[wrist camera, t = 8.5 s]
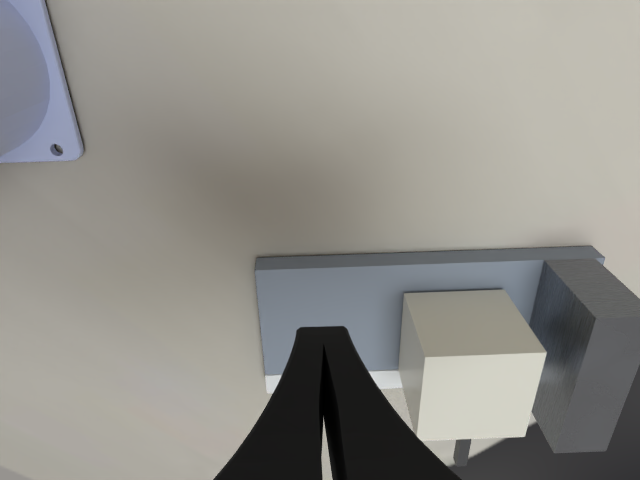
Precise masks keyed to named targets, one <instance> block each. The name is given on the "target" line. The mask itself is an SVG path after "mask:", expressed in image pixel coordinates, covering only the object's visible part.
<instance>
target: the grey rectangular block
mask: <svg viewBox="0 0 640 480" xmlns="http://www.w3.org/2000/svg"><path fill="white" fill-rule="evenodd" d="M529 327H530V328H531V330H532V331H533V333H534V334H535V336H536V337H537V338H538V340H539V341H540V343H541V344H542V346H543V347H544V349H545V350H546V352H547V354H546V358H545V362H544V366H543V369H542V373H541V377H540V381H539V385H538V388H537V392H536V396H535V400H534V404H533V407H532V411H531V412H532V413H533V415H534V417H535V419H536V421H537V423H538V424H539V426H540V428H541V430H542V432H543V433H544V435H545V437H546V439H547V441H548V443H549V445H550V447H551V448H552V450H553V452H554V453H570V452H591V451H606V449H607V447H608V444H609V441H610V439H611V436H612V434H613V431H614V428H615V426H616V423H617V421H618V418H619V416H620V413H621V411H622V408H623V405H624V403H625V400H626V398H627V395H628V392H629V390H630V387H631V384H632V382H633V379H634V377H635V374H636V372H637V369H638V367H639V364H640V299H639V298H638V297H637V296H636V295H635V294H634V293H633V292H631V291H630V290H629V289H628V288H627V287H626V286H625V285H624V284H623V283H622V282H621V281H619V280H618V279H617V278H616V277H615V276H614V275H613V274H612V273H611V272H610V271H609V270H607V269H606V268H605V267H604V266H603V265H602V264H601V263H600V262H599V261H598V260H597V259H595V258H586V259H558V260H544V263H543V267H542V271H541V275H540V280H539V284H538V288H537V293H536V297H535V301H534V306H533V310H532V314H531V319H530V323H529Z"/></svg>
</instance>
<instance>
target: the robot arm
mask: <svg viewBox="0 0 640 480" xmlns="http://www.w3.org/2000/svg"><path fill="white" fill-rule="evenodd" d="M54 144H57V145H59V146H60V147H61V148H62V149H63V153H59V152H57V151H56V150H55V148H54ZM83 152H84V150H83V144H82V140H81V136H80V132H79V129H78V125H77V121H76V117H75V113H74V110H73V106H72V102H71V98H70V95H69V91H68V87H67V83H66V79H65V76H64V72H63V68H62V64H61V60H60V57H59V53H58V49H57V45H56V41H55V38H54V34H53V30H52V26H51V22H50V19H49V15H48V11H47V7H46V3H45V0H0V163H15V162H46V161H73V160H76V159H78V158H79V157H80V156H81V155H82V154H83ZM323 415H324V422H325V429H326V436H327V443H328V450H329V457H330V464H331V471H332V478H333V480H462V479H460V478H459V477H458V476H457V475H456V474H455V473H454V472H452V471H451V470H450V469H449V468H448V467H447V466H446V465H445V464H444V463H443V462H442V461H441V460H440V459H439V458H438V457H437V456H436V455H435V454H434V453H433V452H432V451H431V450H430V449H429V448H428V447H426V446H425V445H424V443H423V442H422V441H421V440H420V439H419V438H418V437H417V436H416V435H415V434H414V433H413V431H412V430H411V429H410V428H409V427H408V426H407V424H406V423H405V422H404V421H403V420H402V419H401V417H400V416H399V415H398V414H397V412H396V411H395V410H394V408H393V407H392V406H391V404H390V403H389V402H388V400H387V399H386V398H385V396H384V395H383V393H382V392H381V390H380V389H379V387H378V386H377V384H376V383H375V381H374V380H373V378H372V377H371V375H370V373H369V372H368V370H367V368H366V367H365V365H364V363H363V362H362V360H361V358H360V356H359V354H358V352H357V350H356V348H355V346H354V344H353V342H352V340H351V337H350V335H349V332H348V329H347V328H346V327H344V326H321V327H300V328H299V329H297V330H296V337H295V341H294V345H293V348H292V351H291V354H290V357H289V359H288V362H287V364H286V367H285V369H284V371H283V374H282V376H281V378H280V381H279V383H278V385H277V387H276V388H275V390H274V392H273V394H272V396H271V398H270V400H269V402H268V404H267V406H266V407H265V409H264V411H263V413H262V414H261V416H260V417H259V419H258V421H257V422H256V424H255V425H254V427H253V429H252V430H251V432H250V433H249V434H248V436H247V437H246V439H245V440H244V441H243V443H242V444H241V446H240V447H239V449H238V450H237V451H236V453H235V454H234V455H233V457H232V458H231V459H230V460H229V462H228V463H227V464H226V465H225V466H224V468H223V469H222V470H221V471H220V472H219V473H218V475H217V476H216V477H215V478H214V479H213V480H322V463H321V453H322V434H323Z"/></svg>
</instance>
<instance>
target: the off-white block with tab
mask: <svg viewBox="0 0 640 480" xmlns="http://www.w3.org/2000/svg"><path fill="white" fill-rule="evenodd" d="M546 354H547V352H546V350H545V349H544V347H543V346H542V344H541V343H540V341H539V340H538V338H537V337H536V336H535V334H534V333H533V331H532V330H531V328H530V327H529V325H528V324H527V322H526V321H525V319H524V318H523V316H522V315H521V313H520V312H519V310H518V309H517V307H516V306H515V304H514V303H513V301H512V300H511V298H510V297H509V296H508V294H507V293H506V291H505V290H477V291H450V292H423V293H404V298H403V312H402V325H401V339H400V353H399V366H398V371H399V375H400V379H401V383H402V387H403V391H404V395H405V399H406V403H407V406H408V410H409V414H410V418H411V422H412V426H413V430H414V434H415V435H416V436H417V437H418V438H419V439H420V440H421V441H435V440H456V445H455V451H454V457H453V458H454V461H455V464H456V466H466V465H467V460H468V455H469V449H470V444H471V439H482V438H505V437H525V434H526V430H527V427H528V423H529V419H530V415H531V411H532V407H533V404H534V400H535V396H536V392H537V388H538V385H539V381H540V377H541V373H542V369H543V366H544V362H545V358H546Z"/></svg>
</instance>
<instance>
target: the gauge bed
mask: <svg viewBox="0 0 640 480" xmlns="http://www.w3.org/2000/svg"><path fill="white" fill-rule="evenodd" d="M586 258H595V259H597V260H598V261H599V262H600V263H601V264H602V265H603V264H604V260H605V257H604V256H603V255H602V254H600V253H599V252H598V251H597V250H596V249H595V248H594V247H592V246H578V247H549V248H521V249H493V250H465V251H437V252H409V253H381V254H352V255H324V256H296V257H268V258H257V260H256V266H255V279H256V288H257V298H258V308H259V318H260V327H261V337H262V347H263V357H264V367H265V379H266V389H267V393H273V392H274V390H275V388H276V387H277V385H278V383H279V381H280V378H281V376H282V374H283V371H284V369H285V367H286V364H287V362H288V359H289V357H290V354H291V351H292V348H293V345H294V341H295V337H296V330H297V329H299V328H300V327H321V326H344V327H346V328H347V329H348V332H349V335H350V337H351V340H352V342H353V344H354V346H355V348H356V350H357V352H358V354H359V356H360V358H361V360H362V362H363V363H364V365H365V367H366V368H367V370H368V372H369V373H370V375H371V377H372V378H373V380H374V381H375V383H376V384H377V386H378V387H379V389H386V388H403V387H402V383H401V379H400V375H399V371H398V366H399V353H400V339H401V325H402V312H403V298H404V293H423V292H450V291H477V290H505V291H506V293H507V294H508V296H509V297H510V298H511V300H512V301H513V303H514V304H515V306H516V307H517V309H518V310H519V312H520V313H521V315H522V316H523V318H524V319H525V321H526V322H527V324H528V325H529V323H530V319H531V314H532V310H533V306H534V301H535V297H536V293H537V288H538V284H539V280H540V275H541V271H542V267H543V263H544V260H558V259H586Z"/></svg>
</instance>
